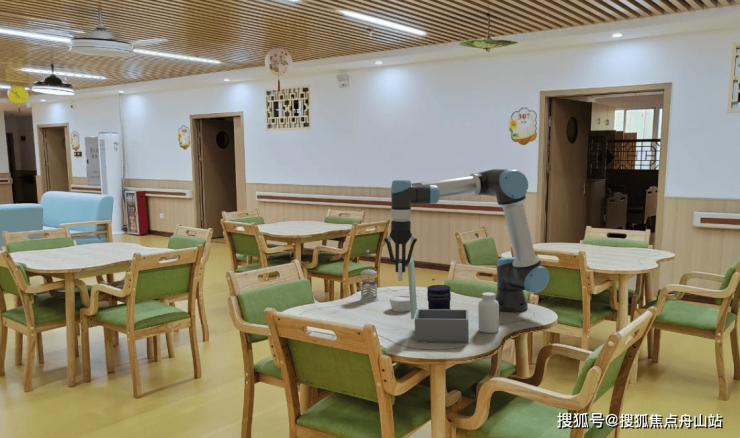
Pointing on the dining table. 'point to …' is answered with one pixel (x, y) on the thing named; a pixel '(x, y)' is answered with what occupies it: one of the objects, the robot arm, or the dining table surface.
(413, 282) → the box lid
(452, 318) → the storage box
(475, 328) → the dining table surface
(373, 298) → the french press
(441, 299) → the storage jar
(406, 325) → the dining table surface
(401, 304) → the ramekin
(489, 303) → the pill bottle
